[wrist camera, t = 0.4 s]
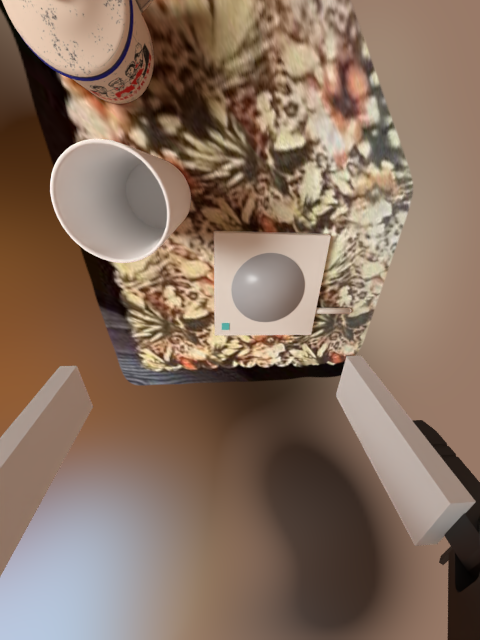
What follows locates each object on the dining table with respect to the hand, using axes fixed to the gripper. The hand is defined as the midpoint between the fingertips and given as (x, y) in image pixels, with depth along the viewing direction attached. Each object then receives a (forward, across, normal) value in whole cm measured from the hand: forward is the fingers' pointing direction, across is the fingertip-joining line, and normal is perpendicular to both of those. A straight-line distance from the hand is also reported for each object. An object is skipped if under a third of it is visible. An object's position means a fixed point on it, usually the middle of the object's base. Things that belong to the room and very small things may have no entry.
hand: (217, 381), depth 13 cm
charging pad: (+27, +10, -6) cm, 29 cm away
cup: (+27, -8, +7) cm, 29 cm away
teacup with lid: (+27, -9, +21) cm, 35 cm away
